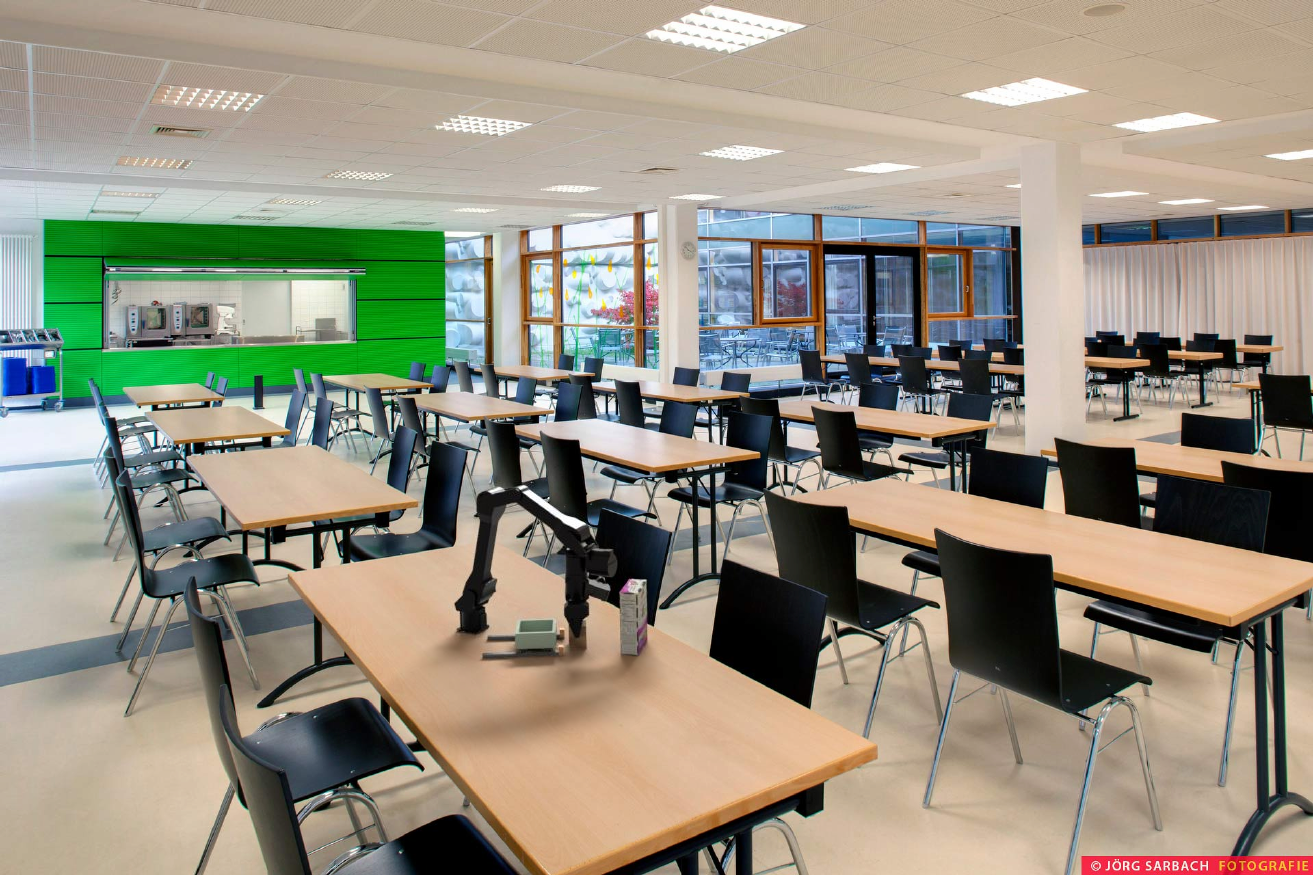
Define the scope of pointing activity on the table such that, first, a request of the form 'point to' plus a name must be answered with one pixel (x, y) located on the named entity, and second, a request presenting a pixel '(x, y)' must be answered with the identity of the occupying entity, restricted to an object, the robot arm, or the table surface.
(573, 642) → the walnut block
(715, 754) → the table surface
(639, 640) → the candy bar box
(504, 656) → the rails
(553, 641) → the sage green storage bin
